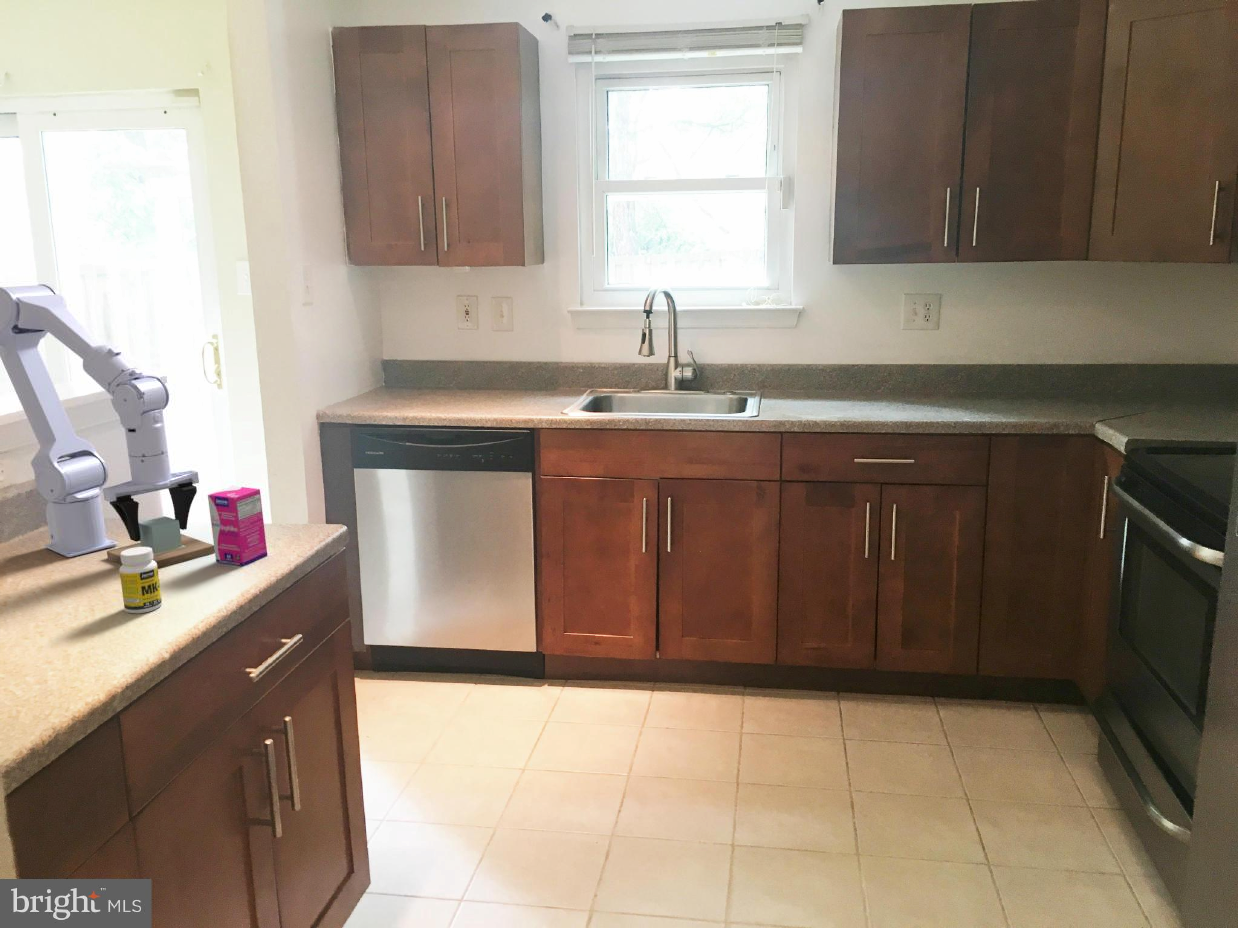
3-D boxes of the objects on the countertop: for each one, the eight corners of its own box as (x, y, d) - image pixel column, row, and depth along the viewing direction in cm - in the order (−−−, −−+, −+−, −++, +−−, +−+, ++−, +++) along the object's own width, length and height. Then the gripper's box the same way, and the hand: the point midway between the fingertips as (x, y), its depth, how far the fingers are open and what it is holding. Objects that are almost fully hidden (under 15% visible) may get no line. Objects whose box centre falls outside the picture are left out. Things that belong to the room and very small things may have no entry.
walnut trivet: (107, 557, 154) (106, 550, 154) (179, 539, 163) (178, 532, 163) (142, 572, 147) (141, 564, 146) (215, 552, 156) (214, 544, 155)
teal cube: (141, 548, 154) (137, 522, 153) (168, 541, 157) (164, 516, 156) (155, 553, 151) (151, 527, 150) (182, 546, 155) (178, 520, 154)
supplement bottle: (147, 615, 129) (138, 557, 127) (117, 613, 130) (108, 555, 128) (169, 602, 134) (162, 546, 132) (140, 600, 135) (132, 544, 133)
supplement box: (214, 562, 151) (205, 493, 148) (241, 551, 156) (233, 485, 153) (242, 567, 148) (234, 497, 146) (269, 555, 154) (261, 487, 151)
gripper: (113, 465, 143) (125, 550, 146) (204, 448, 154) (213, 527, 157) (92, 459, 147) (104, 542, 150) (182, 443, 158) (192, 520, 161)
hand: (159, 534), depth 154 cm, fingers open, 7 cm apart
